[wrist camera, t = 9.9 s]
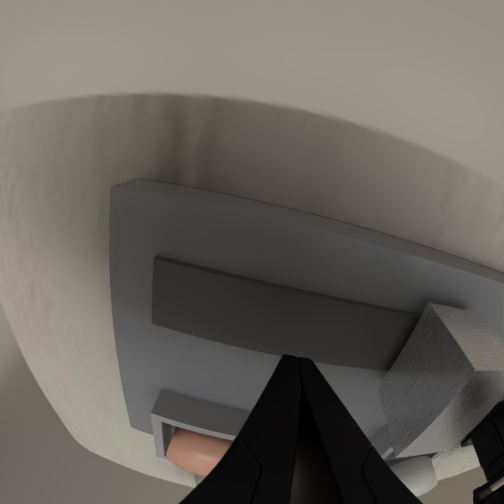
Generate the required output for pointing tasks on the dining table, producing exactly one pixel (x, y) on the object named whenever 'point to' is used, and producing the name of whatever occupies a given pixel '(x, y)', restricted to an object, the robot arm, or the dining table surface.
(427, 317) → the rough gray brick
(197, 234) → the panel
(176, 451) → the terracotta button
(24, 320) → the dining table surface
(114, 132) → the dining table surface
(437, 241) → the dining table surface
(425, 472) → the grey button
